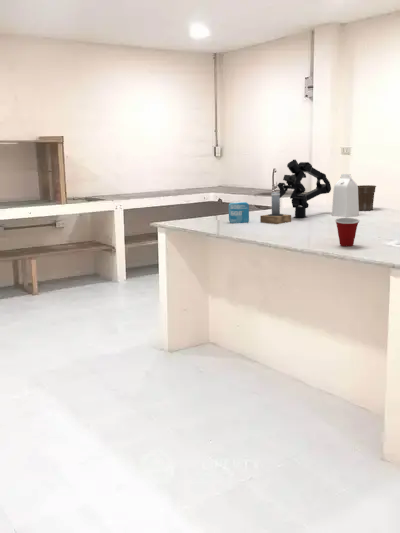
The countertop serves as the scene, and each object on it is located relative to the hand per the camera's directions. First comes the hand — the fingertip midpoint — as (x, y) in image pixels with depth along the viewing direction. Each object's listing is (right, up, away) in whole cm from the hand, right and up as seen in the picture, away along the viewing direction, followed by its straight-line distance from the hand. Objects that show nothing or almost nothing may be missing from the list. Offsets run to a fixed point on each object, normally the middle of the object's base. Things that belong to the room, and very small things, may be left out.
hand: (284, 198), depth 347 cm
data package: (-28, -15, +1) cm, 32 cm away
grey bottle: (-6, -10, -4) cm, 13 cm away
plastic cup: (+15, -32, -87) cm, 94 cm away
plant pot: (+59, -4, +37) cm, 69 cm away
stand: (-6, -15, -3) cm, 16 cm away
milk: (+40, -10, +13) cm, 43 cm away
